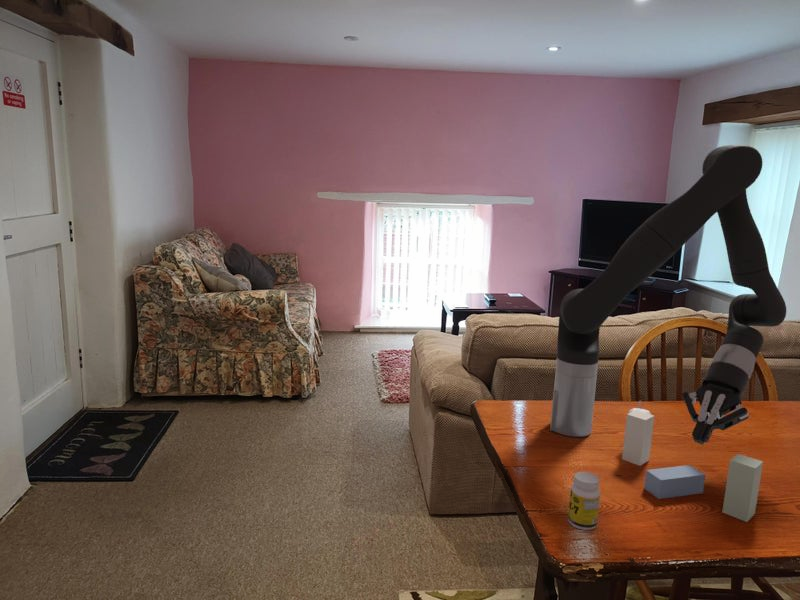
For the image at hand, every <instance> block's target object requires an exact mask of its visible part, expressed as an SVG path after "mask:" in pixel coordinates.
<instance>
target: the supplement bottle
mask: <svg viewBox="0 0 800 600" xmlns="http://www.w3.org/2000/svg"><path fill="white" fill-rule="evenodd" d="M599 486H600V478H599V476H597V475H596V474H594V473H592V472H589V471H588V472H587V471H578V472H576V473H574V476H573V483H572V485H571V487H570V493H569V495H570V496H569V503H568V515H567V521H568V522H569V524H570V525H571V526H572V527H574V528H575V529H579V530H584V531H588V530H589V531H590V530H593V529H595V528H597V525H598V520H599V519H598V518H599V508H600V499H601V490H600V488H599Z"/></svg>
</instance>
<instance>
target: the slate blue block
mask: <svg viewBox="0 0 800 600" xmlns="http://www.w3.org/2000/svg"><path fill="white" fill-rule="evenodd" d="M645 471H646V472H645V479H644V486H643V487H644V490H646V491H647V492H648V493H650V494H651V495H652V496H654V497H655V498H657V499H658V500H662V499H669V498H670V499H671V498H675V497H683V496H691V495H692V496H693V495H699V494H703V493H704V488H705V484H706V483H705V481H706V476H707V475H706V473H704V472H702V471H700V470H699V469H697V468H696V467H694V466H692V465H691V464H687V465H677V466H669V467H660V468H654V469H646V470H645Z"/></svg>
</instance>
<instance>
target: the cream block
mask: <svg viewBox="0 0 800 600" xmlns="http://www.w3.org/2000/svg"><path fill="white" fill-rule="evenodd" d="M654 422H655V415H654V414H647V413H644V412H641V411H638V410H635V411H633V412H631V413H629V412H628V413H627V414H626V419H625V427H624V428H625V429H624V437H623V448H622V454H621V460H623V461H626V462H629V463H631V464H634V465H637V466H639V467H641V466H642V465H644V464H646V463H647V462H649V461H650V456H651V448H652V439H653V431H654Z"/></svg>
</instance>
